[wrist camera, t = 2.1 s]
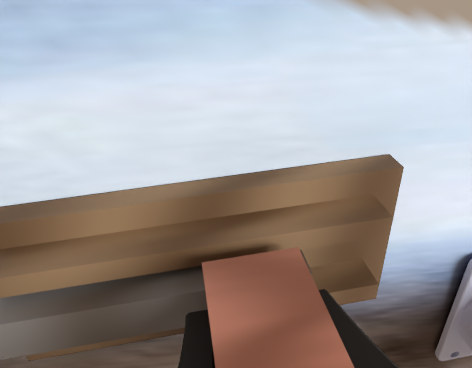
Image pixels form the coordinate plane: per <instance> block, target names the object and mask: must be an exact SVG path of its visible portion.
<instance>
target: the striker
mask: <svg viewBox="0 0 472 368" xmlns="http://www.w3.org/2000/svg"><path fill="white" fill-rule="evenodd" d="M207 309H208V314H209V322H210V330H211V337H212V345H213V353H214V360H215V368H354V366H353V364H352V362H351V359H350V357H349V355H348V353H347V351H346V349H345V347H344V344H343V342H342V340H341V338H340V336H339V334H338V331H337V329H336V327H335V325H334V323H333V321H332V318H331V316H330V314H329V312H328V310H327V308H326V306H325V303H324V301H323V299H322V297H321V295H320V293H319V290H318V288H317V286H316V284H315V282H314V280H313V278H312V271H311V269H310V267H309V265H308V263H307V261H306V259H305V256H304V254H303V252H302V250H300V249H299V247H295V248H289V249H283V250H277V251H270V252H264V253H258V254H252V255H245V256H239V257H233V258H227V259H220V260H214V261H208V262H202V266H197V267H190V268H184V269H178V270H172V271H165V272H159V273H153V274H147V275H141V276H134V277H128V278H122V279H116V280H110V281H103V282H97V283H91V284H85V285H78V286H72V287H66V288H60V289H54V290H47V291H41V292H35V293H29V294H23V295H16V296H10V297H4V298H0V360H5V359H11V358H16V357H22V356H28V355H33V354H39V353H44V352H50V351H56V350H61V349H67V348H72V347H78V346H84V345H89V344H95V343H100V342H106V341H112V340H117V339H123V338H128V337H134V336H140V335H145V334H151V333H156V332H162V331H168V330H173V329H179V328H184V327H185V317H186V315H187V314H188V313H189V312H195V311H201V310H207Z"/></svg>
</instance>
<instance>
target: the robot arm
mask: <svg viewBox="0 0 472 368" xmlns="http://www.w3.org/2000/svg"><path fill="white" fill-rule="evenodd" d="M319 293H320V295H321V297H322V299H323V301H324V303H325V306H326V308H327V310H328V312H329V314H330V316H331V318H332V321H333V323H334V325H335V327H336V329H337V331H338V334H339V336H340V338H341V340H342V342H343V344H344V347H345V349H346V351H347V353H348V355H349V357H350V359H351V362H352V364H353V366H354V368H399V367H398V366H396V365H395V364H394V363H393V362H392V361H391V360H390V359H389V358H388V357H387V356H386V355H385V354H384V353H383V352H382V351H381V350H380V349H379V348H378V347H377V346H376V345H375V344H374V343H373V342H372V341H371V340H370V339H369V337H368V336H367V335H366V334H365V333H364V332H363V331H362V330H361V329H360V328H359V327H358V326H357V325H356V324H355V322H354V321H353V320H352V319H351V318H350V317H349V316H348V315H347V313H346V312H345V311H344V310H343V309H342V308H341V307H340V305H339V304H338V303H337V302H336V301H335V299H334V298H333V297H332V296H331V295H330V293H329V292H328V291H327V290H325V289H321V290H319ZM435 355H436V356H437V358H438V359H439V360H440V361H447V360H452V359H457V358H462V357H466V356H471V355H472V259H471V260H470V261H469V263H468V265H467V268H466V271H465V273H464V276H463V279H462V281H461V284H460V287H459V290H458V292H457V295H456V298H455V300H454V303H453V306H452V308H451V311H450V314H449V316H448V319H447V322H446V324H445V327H444V330H443V332H442V335H441V338H440V340H439V343H438V346H437V348H436V351H435ZM178 368H215V360H214V353H213V345H212V337H211V330H210V322H209V314H208V309H207V310H201V311H195V312H189V313H188V314H187V315H186V317H185V332H184V340H183V346H182V351H181V357H180V362H179V366H178Z"/></svg>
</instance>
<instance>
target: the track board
mask: <svg viewBox="0 0 472 368" xmlns="http://www.w3.org/2000/svg"><path fill="white" fill-rule="evenodd" d="M403 168H404V167H403V166H402V165H401V164H400V163H398V162H397V161H396V160H395V159H394V158H393V157H392V156H391V155H390V154H388V155H381V156H374V157H366V158H359V159H351V160H344V161H337V162H329V163H322V164H315V165H307V166H300V167H292V168H285V169H278V170H270V171H263V172H255V173H248V174H241V175H233V176H226V177H219V178H211V179H204V180H196V181H189V182H182V183H174V184H167V185H159V186H152V187H145V188H137V189H130V190H122V191H115V192H108V193H100V194H93V195H86V196H78V197H71V198H63V199H56V200H49V201H41V202H34V203H26V204H19V205H12V206H4V207H0V298H4V297H10V296H16V295H23V294H29V293H35V292H41V291H47V290H54V289H60V288H66V287H72V286H78V285H85V284H91V283H97V282H103V281H110V280H116V279H122V278H128V277H134V276H141V275H147V274H153V273H159V272H165V271H172V270H178V269H184V268H190V267H197V266H202V262H208V261H214V260H220V259H227V258H233V257H239V256H245V255H252V254H258V253H264V252H270V251H277V250H283V249H289V248H295V247H299V249H300V250H302V252H303V254H304V256H305V259H306V261H307V263H308V265H309V267H310V269H311V271H312V278H313V280H314V282H315V284H316V286H317V288H318V290H321V289H325V290H327V291H328V292H329V293H330V295H331V296H332V297H333V298H334V299H335V301H336V302H337V303H338V304H339V305H343V304H348V303H354V302H359V301H365V300H370V299H376V296H377V291H378V286H379V283H380V278H381V273H382V268H383V264H384V259H385V254H386V249H387V244H388V240H389V235H390V230H391V225H392V221H393V216H394V211H395V206H396V201H397V197H398V192H399V187H400V182H401V178H402V173H403ZM184 332H185V327H184V328H179V329H173V330H168V331H162V332H156V333H151V334H145V335H140V336H134V337H128V338H123V339H117V340H112V341H106V342H100V343H95V344H89V345H84V346H78V347H72V348H67V349H61V350H56V351H50V352H44V353H39V354H33V355H28V356H26V357H27V359H28V361H32V360H37V359H43V358H48V357H54V356H59V355H65V354H71V353H76V352H82V351H87V350H93V349H98V348H104V347H109V346H115V345H121V344H126V343H132V342H137V341H143V340H148V339H154V338H159V337H165V336H171V335H176V334H182V333H184Z"/></svg>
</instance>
